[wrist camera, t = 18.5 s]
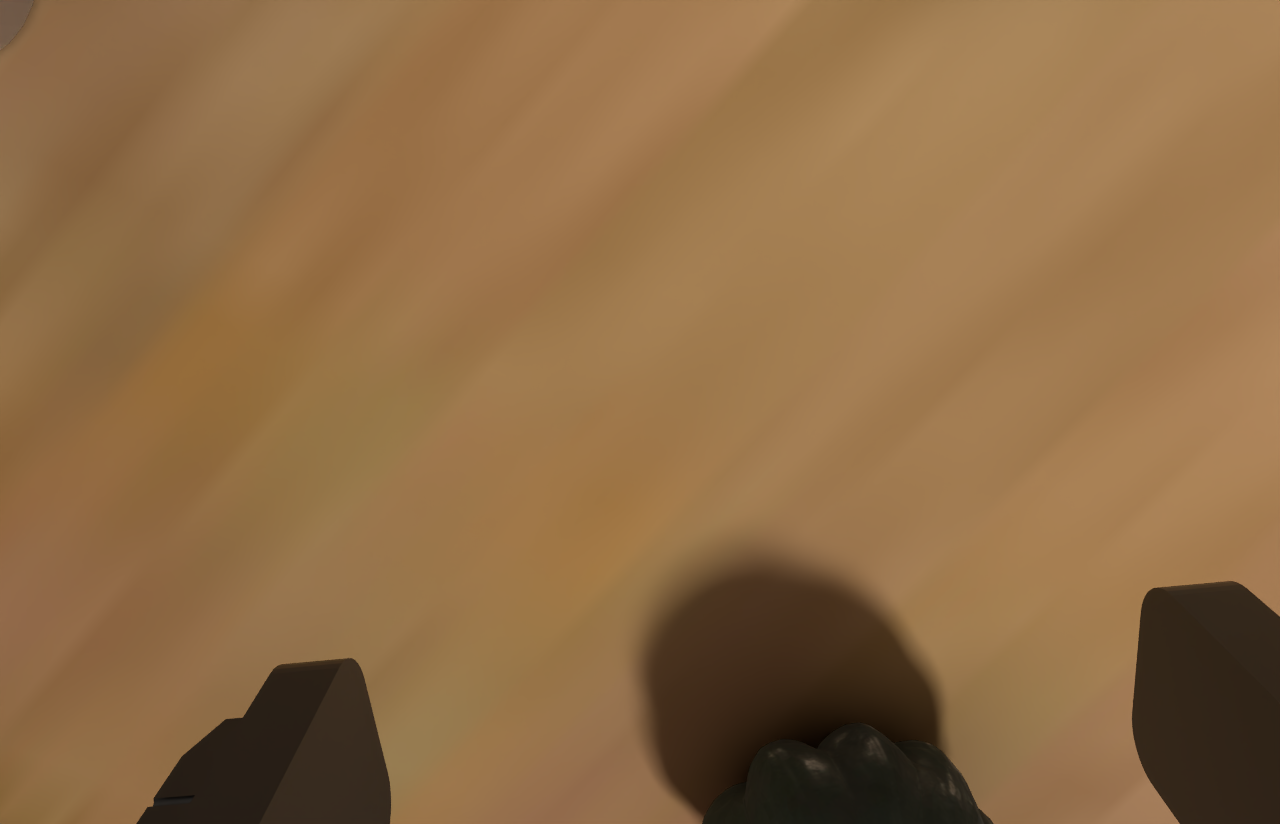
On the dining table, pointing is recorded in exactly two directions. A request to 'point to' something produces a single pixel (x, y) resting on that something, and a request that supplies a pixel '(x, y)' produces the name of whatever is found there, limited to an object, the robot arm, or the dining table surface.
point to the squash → (849, 784)
